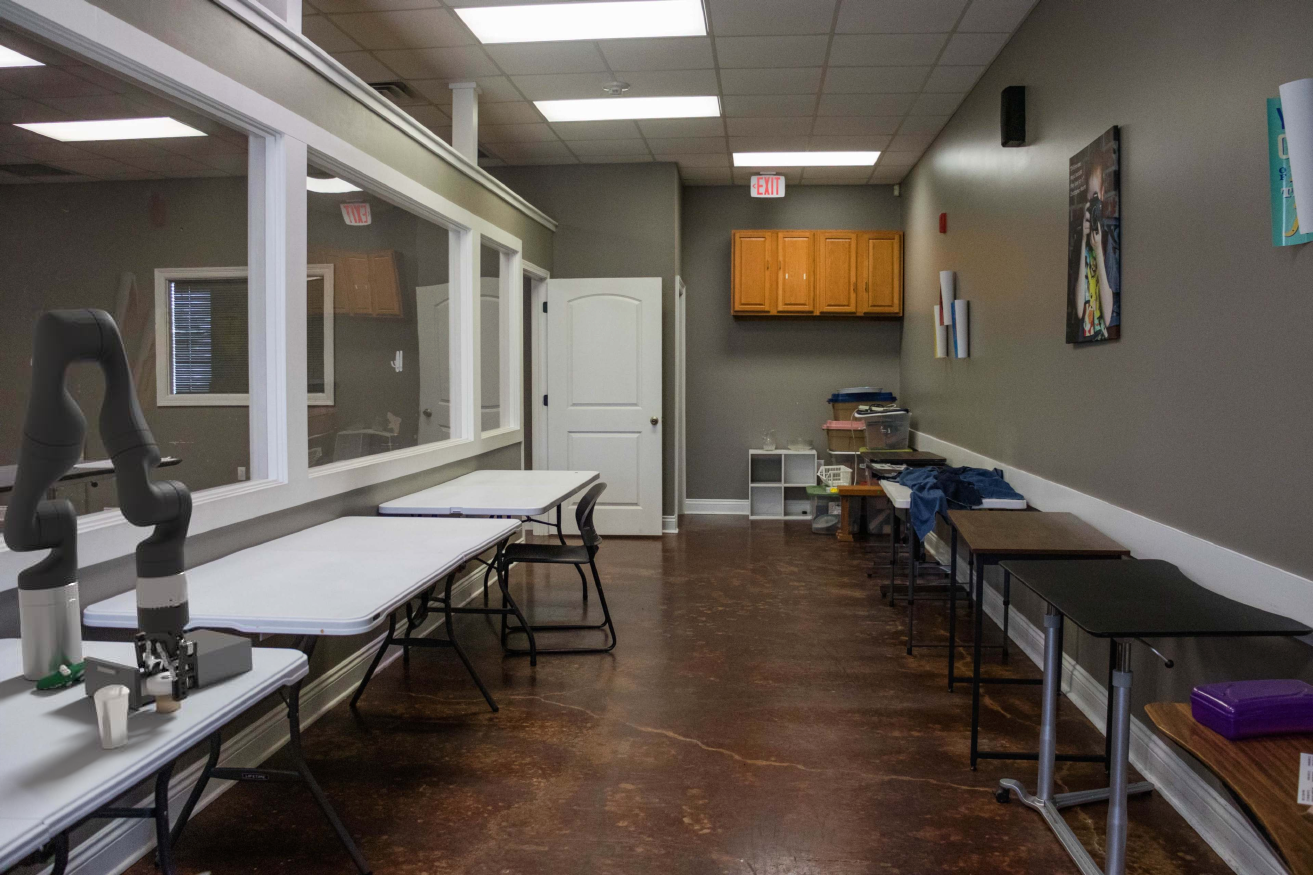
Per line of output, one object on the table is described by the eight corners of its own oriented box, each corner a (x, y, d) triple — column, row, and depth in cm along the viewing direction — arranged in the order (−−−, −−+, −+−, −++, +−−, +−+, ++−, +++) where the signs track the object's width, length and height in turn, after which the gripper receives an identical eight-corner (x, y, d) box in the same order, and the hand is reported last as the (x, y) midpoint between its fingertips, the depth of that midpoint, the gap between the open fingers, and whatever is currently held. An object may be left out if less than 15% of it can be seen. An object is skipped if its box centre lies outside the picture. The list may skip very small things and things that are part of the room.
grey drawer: (147, 674, 159) (145, 640, 158) (197, 687, 152) (195, 651, 152) (83, 695, 149) (80, 658, 148) (133, 710, 142) (131, 671, 141)
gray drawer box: (203, 658, 169) (201, 627, 168) (252, 669, 162) (251, 637, 162) (148, 675, 159) (147, 643, 159) (199, 688, 152) (197, 654, 152)
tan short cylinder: (151, 710, 142) (150, 690, 142) (172, 703, 146) (171, 683, 145) (165, 714, 141) (163, 694, 140) (185, 706, 144) (184, 686, 144)
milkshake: (109, 754, 126) (105, 689, 125) (91, 746, 129) (87, 683, 128) (140, 743, 130) (137, 680, 129) (123, 735, 132) (119, 673, 132)
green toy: (45, 701, 152) (63, 680, 151) (32, 685, 153) (50, 664, 151) (89, 683, 161) (106, 663, 160) (76, 668, 162) (94, 648, 160)
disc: (139, 691, 142) (138, 679, 141) (173, 680, 147) (173, 668, 147) (161, 697, 139) (160, 685, 139) (195, 685, 144) (195, 673, 144)
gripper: (114, 600, 142) (120, 697, 143) (167, 610, 135) (173, 712, 136) (158, 590, 148) (163, 683, 150) (210, 599, 142) (216, 696, 143)
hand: (168, 696), depth 143 cm, fingers closed on disc, 6 cm apart
